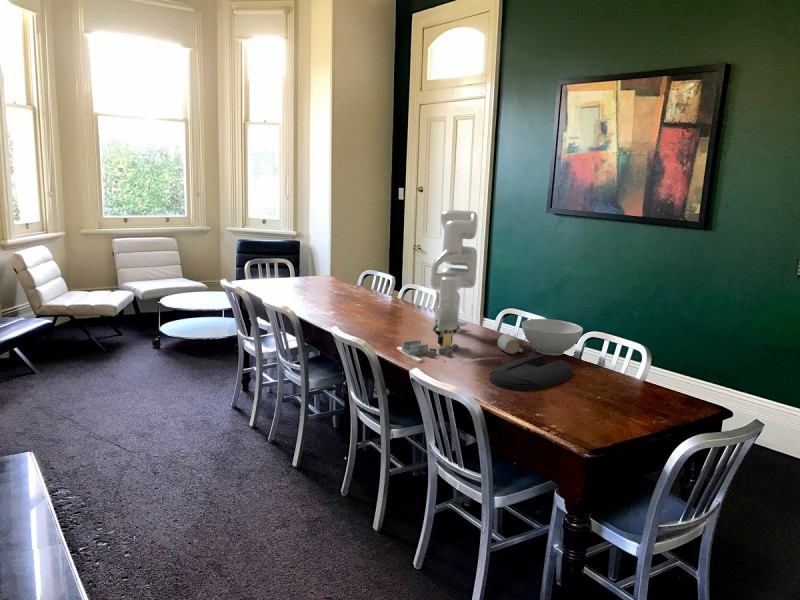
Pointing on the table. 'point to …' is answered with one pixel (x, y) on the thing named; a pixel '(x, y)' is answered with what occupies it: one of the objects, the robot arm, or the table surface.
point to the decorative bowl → (551, 335)
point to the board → (433, 352)
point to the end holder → (414, 347)
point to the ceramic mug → (509, 344)
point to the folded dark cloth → (530, 374)
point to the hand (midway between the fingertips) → (444, 344)
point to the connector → (446, 338)
